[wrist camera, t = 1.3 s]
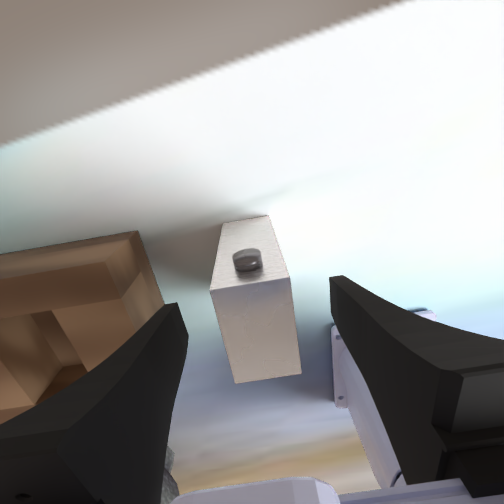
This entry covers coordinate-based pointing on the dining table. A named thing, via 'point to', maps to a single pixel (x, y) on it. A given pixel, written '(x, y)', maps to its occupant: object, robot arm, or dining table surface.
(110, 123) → the dining table surface
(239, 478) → the dining table surface
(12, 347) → the slotted wooden frame
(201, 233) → the dining table surface
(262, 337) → the grey block with knob
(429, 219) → the dining table surface
